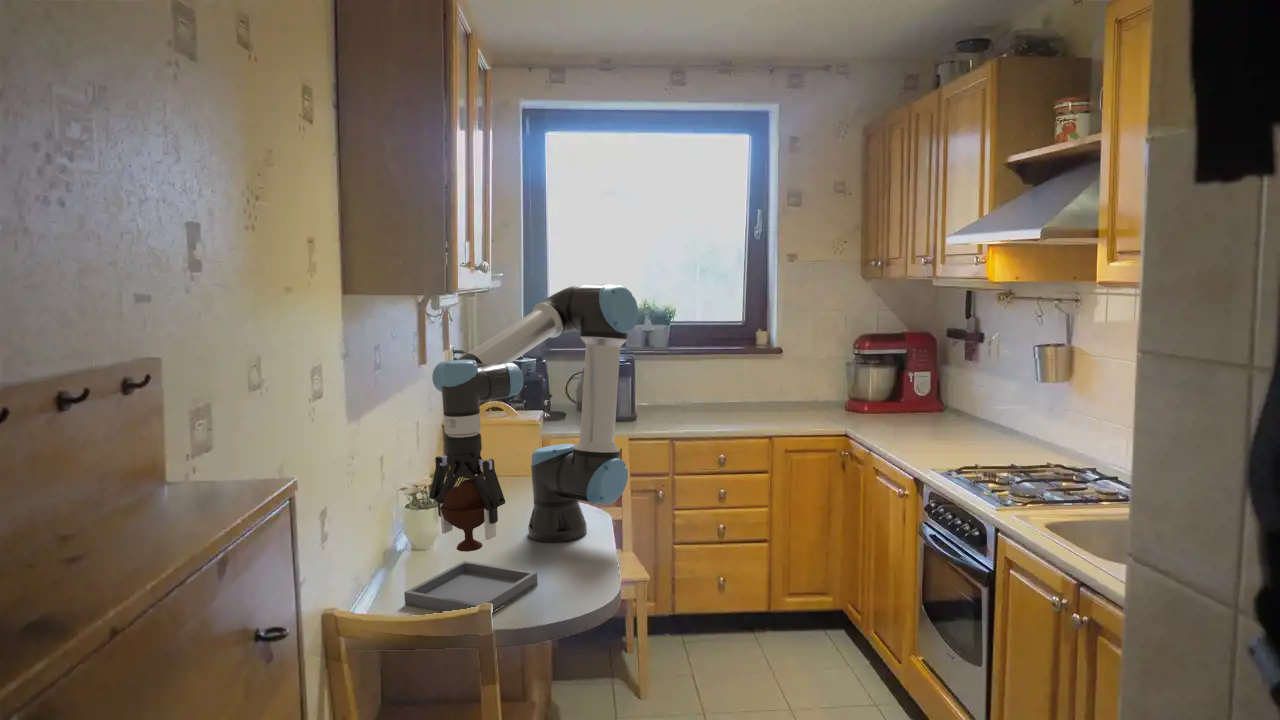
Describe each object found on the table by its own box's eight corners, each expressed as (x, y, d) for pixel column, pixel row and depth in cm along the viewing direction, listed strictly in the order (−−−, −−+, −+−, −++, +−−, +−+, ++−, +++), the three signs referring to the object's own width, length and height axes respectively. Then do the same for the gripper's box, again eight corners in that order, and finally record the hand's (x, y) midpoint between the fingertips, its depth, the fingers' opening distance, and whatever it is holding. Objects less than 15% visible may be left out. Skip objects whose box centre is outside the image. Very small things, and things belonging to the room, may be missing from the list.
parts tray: (465, 572, 201) (464, 560, 201) (537, 584, 192) (536, 572, 192) (405, 604, 184) (404, 592, 183) (481, 620, 175) (481, 606, 174)
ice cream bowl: (497, 537, 192) (493, 471, 191) (490, 555, 181) (486, 484, 180) (449, 540, 192) (445, 473, 190) (439, 557, 181) (434, 486, 179)
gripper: (407, 433, 186) (414, 533, 188) (497, 441, 175) (503, 546, 178) (431, 427, 192) (437, 523, 195) (519, 433, 182) (524, 535, 184)
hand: (468, 534), depth 186 cm, fingers closed on ice cream bowl, 11 cm apart
